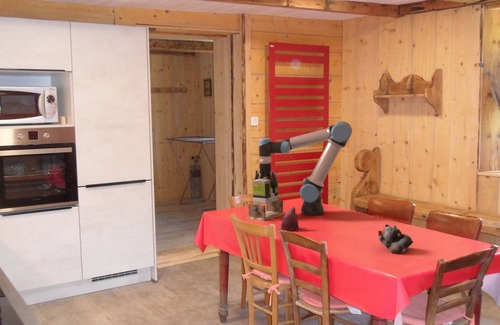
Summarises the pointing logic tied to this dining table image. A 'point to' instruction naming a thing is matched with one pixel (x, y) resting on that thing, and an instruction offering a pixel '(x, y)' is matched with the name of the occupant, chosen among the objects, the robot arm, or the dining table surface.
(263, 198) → the tea box
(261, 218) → the holder stand
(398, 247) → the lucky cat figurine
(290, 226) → the vegetable
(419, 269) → the dining table surface
